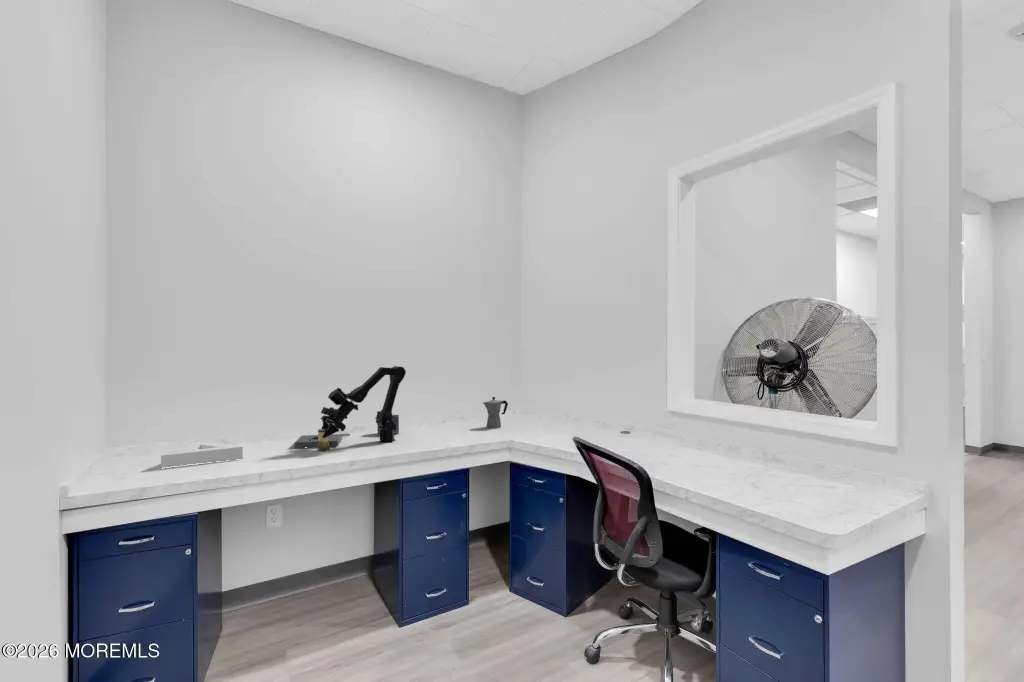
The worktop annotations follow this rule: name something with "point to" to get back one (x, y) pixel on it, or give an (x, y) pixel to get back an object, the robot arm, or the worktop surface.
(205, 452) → the triangle block
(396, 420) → the small box
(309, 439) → the grey octagonal hole plate
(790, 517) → the worktop surface
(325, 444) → the cylinder
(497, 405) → the coffeepot
